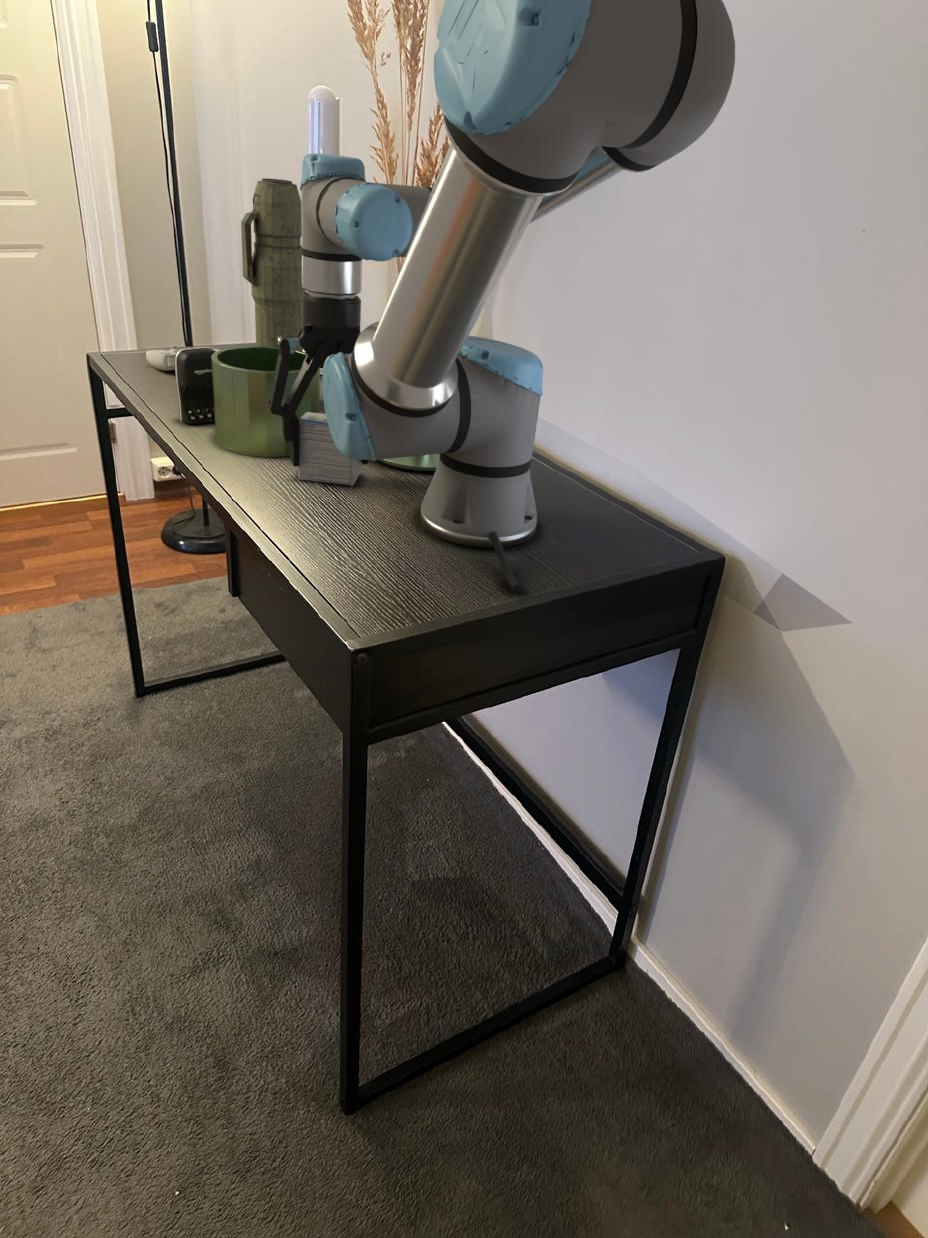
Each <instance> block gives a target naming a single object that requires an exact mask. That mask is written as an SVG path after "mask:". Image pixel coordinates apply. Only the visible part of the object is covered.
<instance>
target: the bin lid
mask: <svg viewBox="0 0 928 1238" xmlns="http://www.w3.org/2000/svg"><path fill="white" fill-rule="evenodd" d="M439 456H440V454H431V455H421V456H410V457H400V458H389V459H379V460H377V461H379V462H381V463H383V464H385V465H389V466H392V467H396V468H400V469H404V470H405V469H406V470H412V471H423V472H435V471H436V469H437V467H438V464H439Z"/></svg>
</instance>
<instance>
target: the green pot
mask: <svg viewBox="0 0 928 1238" xmlns="http://www.w3.org/2000/svg"><path fill="white" fill-rule="evenodd" d="M219 350H220V351H217V352H215V353H214V354H213V355H212V356H211V361H212V378H213V396H214V413H215V421H214V427H215V428H214V429H215V437H216V443H217V444H218V445H219V446H220V447H222V448H223V449H226V450H227V451H229V452H232V453H236V454H239V455H245V456H249V457H257V458H259V457H260V458H286V457H290V441H285V439H284V437H283V435H282V417H281V416H279V415H274V414H272V413H271V411H270V409H269V407H268V402H269V397H270V392H271V388H272V383H273V378H274V374H275V369H276V364H277V360H278V355H279V351H278V347H270V346H256V345H244V346H233V347H228V348H227V347H226V348H223V349H219ZM306 356H307V354H306V352H305V351H303V352H302V351H299V350H296V351H295V353H294V354H293V355H291V362H290V367H289V372H288V376H287V381H286V385H285V390H284V394H283V399H282V403H281V404H282V405H284V403H285V400H286V398H287V396H288V394H289V392H290V390H291V388H292V386H293V384H294V382H295V380H296V378H297V376H298V374H299V372H300V370H301V368H302V365H303V362H304V360H305V358H306ZM306 412H312V413H321V369H320V367H319V369H318V371H317V373H316V374H315V375H314V376H313V378H312V380H311V382H310V384H309V386H308V388H307V390H306V392H305V394H304V396H303V398H302V400H301V402H300V404H299V406H298V408H297V410H296V412H295V414H296V416H297V417H298V419H299V420H300V418H301V417H302V416H303V415H304V414H305V413H306Z"/></svg>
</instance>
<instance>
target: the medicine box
mask: <svg viewBox="0 0 928 1238" xmlns="http://www.w3.org/2000/svg"><path fill="white" fill-rule="evenodd" d="M297 467H298V471H297V472H298V474H297V475H298V476H297V477H298V480H300V481H301V480H302V481H312V482H318V483H319V482H320V483H327V484H328V483H329V484H335V485H336V484H337V485H345V486H352V487H353V486H354V485H355V483H356V482H357V480H358V477H359V475H360V460H350V459H348V458H346V457H345V456H343V455H342V454H341V453H340V452H339V450H338V449H337V447H336V445H335V443H334V441H333V438H332V436H331V433H330V429H329V426H328V422H327V417H326V413H321V412H320V413H312V412H306V413H305V414H304V415H303V416H302V417H301V418H300V420H299V466H297Z"/></svg>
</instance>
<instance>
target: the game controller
mask: <svg viewBox="0 0 928 1238" xmlns="http://www.w3.org/2000/svg"><path fill="white" fill-rule="evenodd" d="M170 347H171V348H170V349H169V350H165V349H148V350H147V351H146V352H145V353H146V354H145V358H146V360H147V362H148V364H150V366H152V367H153V368H155V369H157V370H159V371H165V372H170V371H173V370H175V355H176V353H177V352H178V351H179V350H180V349H179V348H178V345H171V346H170ZM212 349H213V350H214V351H216V352H217V351H220V350H221V349H219V348H212Z"/></svg>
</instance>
